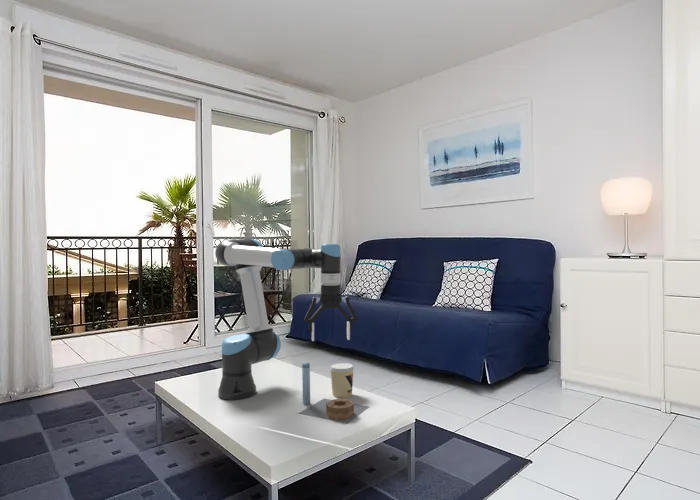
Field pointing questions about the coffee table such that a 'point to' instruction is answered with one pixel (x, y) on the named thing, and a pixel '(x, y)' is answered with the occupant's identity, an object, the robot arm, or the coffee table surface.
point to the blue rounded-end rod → (306, 382)
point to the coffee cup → (342, 379)
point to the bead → (340, 409)
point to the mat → (320, 411)
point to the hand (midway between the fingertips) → (330, 339)
